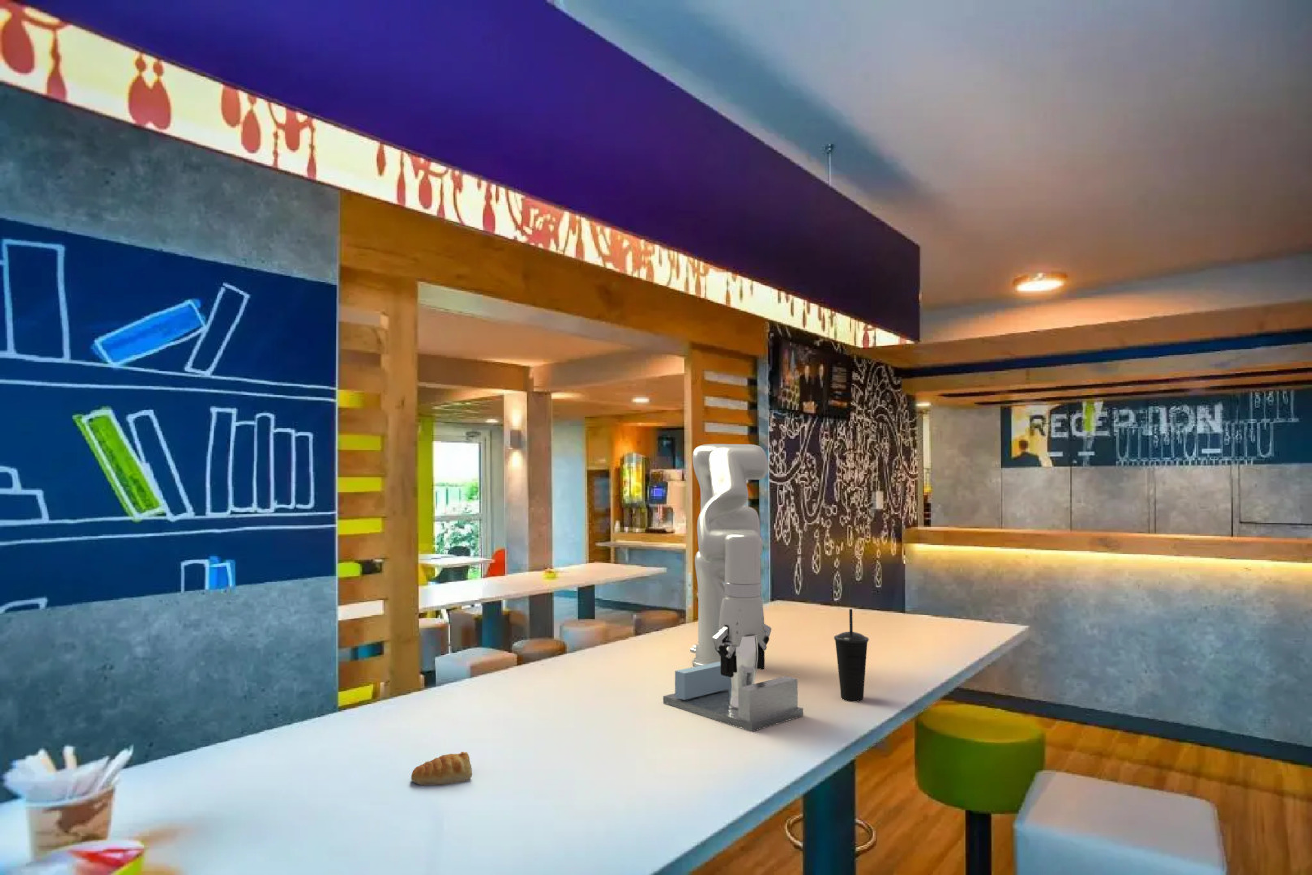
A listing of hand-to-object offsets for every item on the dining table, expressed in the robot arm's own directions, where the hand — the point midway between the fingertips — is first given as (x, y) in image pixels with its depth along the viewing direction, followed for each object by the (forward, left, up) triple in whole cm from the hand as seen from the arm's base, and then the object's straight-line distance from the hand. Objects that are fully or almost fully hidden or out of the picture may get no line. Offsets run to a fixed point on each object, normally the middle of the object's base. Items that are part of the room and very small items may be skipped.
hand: (742, 672), depth 162 cm
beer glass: (0, 0, -7) cm, 7 cm away
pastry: (-7, -64, -9) cm, 65 cm away
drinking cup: (+9, +27, -9) cm, 29 cm away
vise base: (-3, 0, -8) cm, 9 cm away
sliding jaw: (-12, 0, -7) cm, 13 cm away
